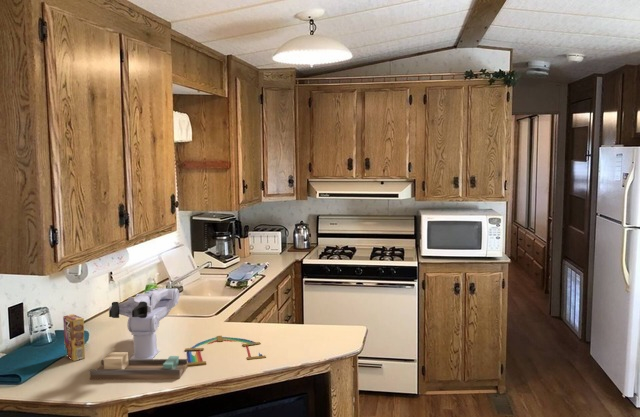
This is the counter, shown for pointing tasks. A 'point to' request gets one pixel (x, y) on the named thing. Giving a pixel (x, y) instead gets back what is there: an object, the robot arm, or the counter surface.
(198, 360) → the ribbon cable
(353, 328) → the counter surface
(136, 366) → the guide track
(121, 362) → the beige box
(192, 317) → the counter surface
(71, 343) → the candy box
